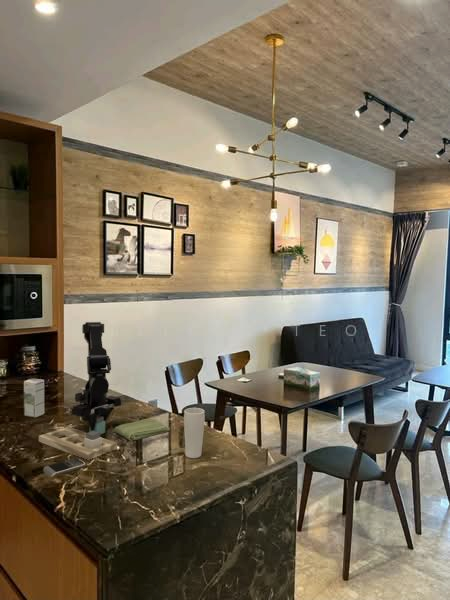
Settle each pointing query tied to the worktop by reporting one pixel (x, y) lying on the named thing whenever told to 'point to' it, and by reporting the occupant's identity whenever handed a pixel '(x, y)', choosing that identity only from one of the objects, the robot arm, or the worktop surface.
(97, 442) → the off-white plug
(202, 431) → the drinking glass
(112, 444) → the wooden grid tray
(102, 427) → the teal plug
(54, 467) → the cell phone
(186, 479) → the worktop surface
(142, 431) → the washcloth
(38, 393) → the syrup box
